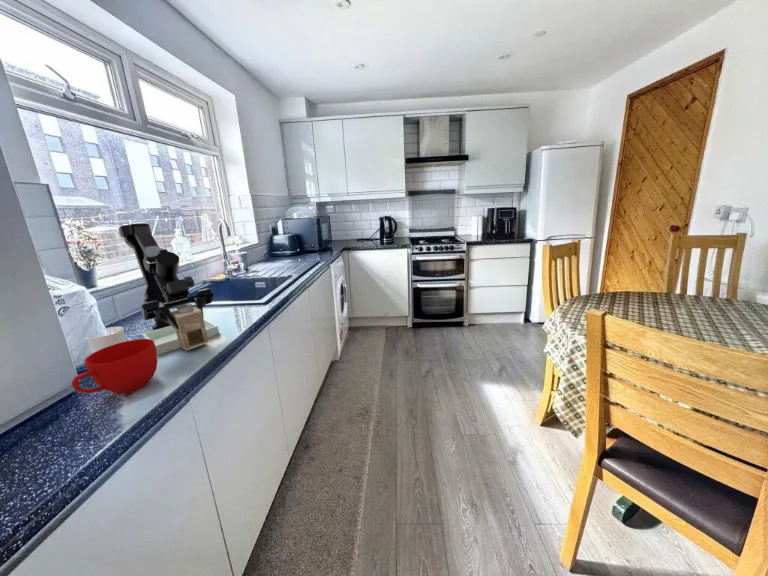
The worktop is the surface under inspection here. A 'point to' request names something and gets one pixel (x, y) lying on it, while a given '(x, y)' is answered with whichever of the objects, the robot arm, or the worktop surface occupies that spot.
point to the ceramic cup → (121, 367)
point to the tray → (173, 337)
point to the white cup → (107, 339)
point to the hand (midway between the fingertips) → (190, 324)
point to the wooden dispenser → (190, 326)
